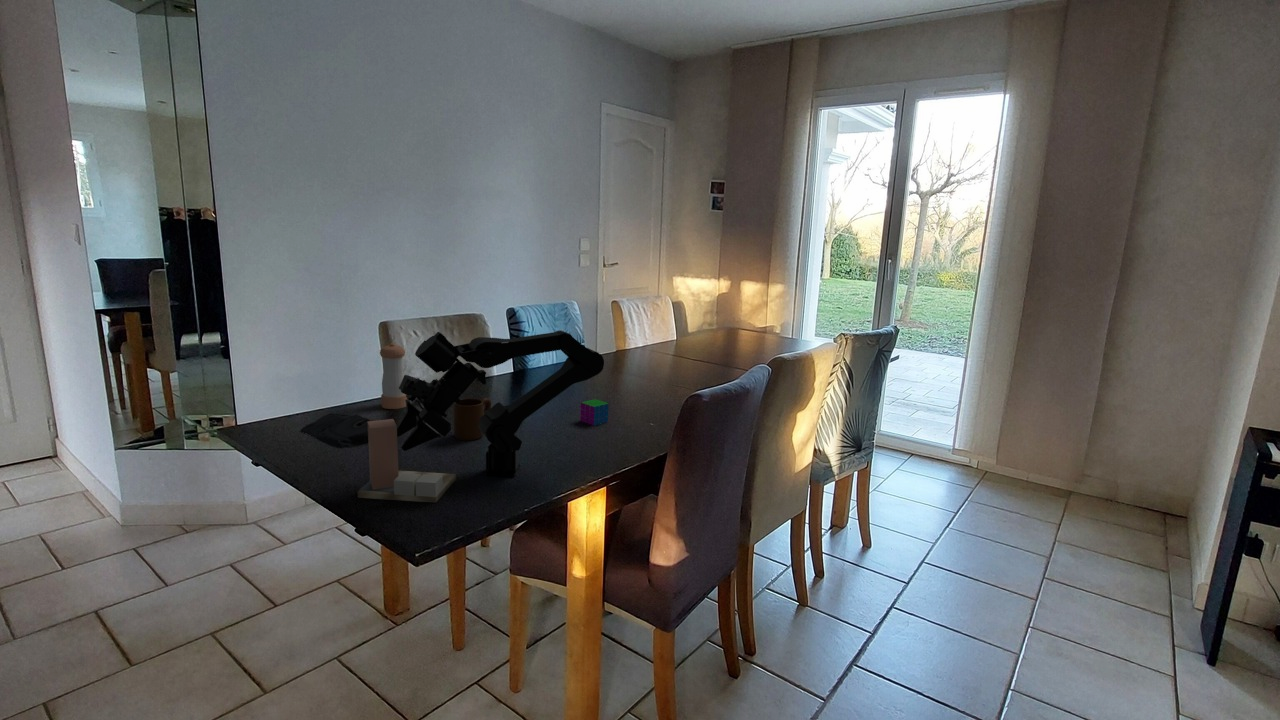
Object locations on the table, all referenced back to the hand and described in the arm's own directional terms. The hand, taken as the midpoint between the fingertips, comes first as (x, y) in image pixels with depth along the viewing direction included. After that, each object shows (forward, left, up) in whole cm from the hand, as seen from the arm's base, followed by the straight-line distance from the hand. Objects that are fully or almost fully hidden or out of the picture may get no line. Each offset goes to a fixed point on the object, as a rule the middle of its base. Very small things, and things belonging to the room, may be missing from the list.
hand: (399, 442), depth 130 cm
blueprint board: (-2, 0, -10) cm, 10 cm away
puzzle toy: (-35, -53, -10) cm, 64 cm away
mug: (-5, -36, -10) cm, 38 cm away
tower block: (+3, +2, -9) cm, 9 cm away
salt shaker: (+26, -57, -10) cm, 63 cm away
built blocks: (-6, +4, -9) cm, 11 cm away
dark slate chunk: (+27, -31, -11) cm, 43 cm away
